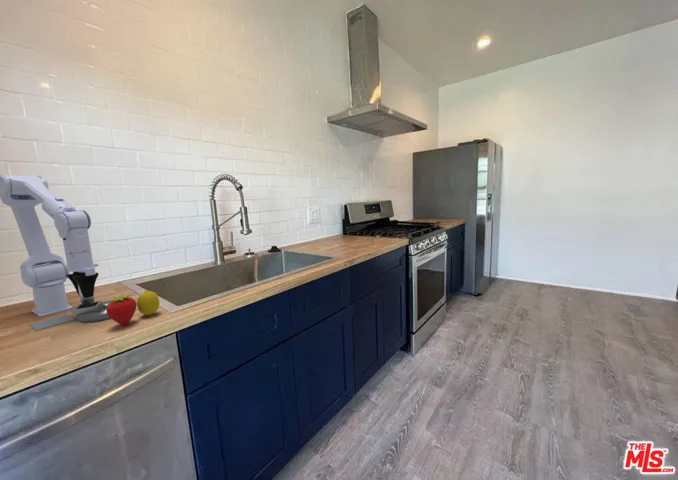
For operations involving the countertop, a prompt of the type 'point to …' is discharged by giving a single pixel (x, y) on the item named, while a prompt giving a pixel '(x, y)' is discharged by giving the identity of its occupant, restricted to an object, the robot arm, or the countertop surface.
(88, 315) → the grey rounded hollow piece
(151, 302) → the lemon
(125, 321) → the strawberry
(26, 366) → the countertop surface
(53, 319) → the mat
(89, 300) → the key
